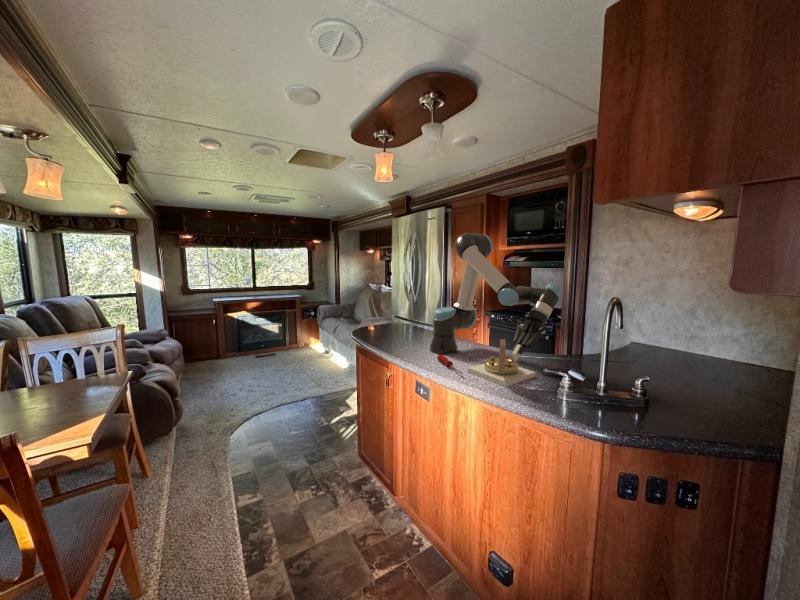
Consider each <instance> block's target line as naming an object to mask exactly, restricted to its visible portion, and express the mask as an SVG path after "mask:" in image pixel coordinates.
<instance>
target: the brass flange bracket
mask: <svg viewBox="0 0 800 600" xmlns="http://www.w3.org/2000/svg"><path fill="white" fill-rule="evenodd" d="M506 346H507V345H506V339H505V338H503V339H502V338H500V339H499V357H496V356H493V355H491V356H488V358H487V359H485V360H484V363H485V370H487V371H488V372H491V373H494V374H499V375H513V374H516V373H518V367H520V366H519V363H518V362H517V361H513V360H512V359H511V357H509V358H506Z"/></svg>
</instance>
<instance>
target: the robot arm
mask: <svg viewBox="0 0 800 600" xmlns="http://www.w3.org/2000/svg"><path fill="white" fill-rule="evenodd" d="M454 249H455V250H454V251H455V252H456V254H457V256H458V257H459V258H460V259H461V260H462V261H463V262H465V264H464V269H463V273H462V278H461V282H460V288H459V292H458V297H457V301H456V302H455V303H453V307H450V306H445V307H443V306H442V307H438V308H436V309H435V310H434V312H433V316H432V317H433V318H432V319H433V323H432V324H433V329H432V330H433V331H432V332H433V333H432V339H431V343H430V345H429V351H430V352H431V353H435V354H438V355H439V354H442V355H449V354H450V355H451V354H454V353H457V352H458V345H457V342H456V337H455V332H456V331H457V330H465V329H468V328H471V327H472V326H474V324H475V323H476V321H477V314H476V311H475V307H474V299H475V295H476V290H477V285H478V283H479V278H480V277H481V278H482V279H483V280H484V281H485V282H486V284H488V286H490V288H491V289H492V290H493V291H495V293H496V294H497V298H498V302H499V303H500V304H501V305H503V306H509V307H512V306H517V305H524V304H530V305H531V304H532V305H533V306H532V308H531V310H530V311H529V312H528V314H527V317H526V320H525V321H524V322H523V323H517V324H516V331H515V333H514V336H513V340H512V342H513V343H514V347H513V349H512V353H511V354H510V356H509V358H511V359H512V360H513V361H516V362H517V361H518V359H519V357H520V355H523V353H524V352H525V350H526V349H532V347H534V345H535V344H536V343H537V342H538V341H539V340H540V339H541V338H542V337H543V336H545V335H546V334H547V331H546V329H545V325H546V323H547V321H548V319H549V318H550V316H551V314H552V312H553V311H554V308H555V307H556V306H557V303H558V302H559V301H560V298H561V296H562V294H563V290H562V288H561V287H560V286H559V285H557V284H554V283H548V284H546V285H545V286H544V287H543V288H541V287H540V288H539V287H538V288H537V287H534V286H533V287H532V286H526V285H524V286H522V285H519V286H517V287H515V285H514V284H513V283H511V281H509V280H508V279H507V277H505V276H504V275H503V273H501V272H500V271H499V269H498V268H497V267H495V265H493V264H492V262H490V260H488V259H487V257H488V256H489V255H491V254H492V252H493V250H494V244H493V240H492V239H491V237H490V236H489V235H487V234H483V233H473V232H472V233H471V232H465V233H462V234H460V235H459V236H458V237H457V238H456V240H455V243H454Z"/></svg>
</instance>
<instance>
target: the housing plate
mask: <svg viewBox="0 0 800 600" xmlns="http://www.w3.org/2000/svg"><path fill="white" fill-rule="evenodd" d="M467 373H469V374H472V375H473V376H477V377H480V378H482V379H483V380H486V381H489V380H490V382H493V383H495V384H498V385H500V386H503V387H505V388H506V387H509V386H512V385H515V384H518V383H520V382H524V381H526V380H530V379H532V378H535V377H536V371H533V370H529V369H528V368H527V369H526V368H523V367H521V366H518V373H516V374H513V375H499V374H494V373H491V372H488V371H487V370H485V362H484V363H481V364H477V365H473V366H470V367H468V368H467Z"/></svg>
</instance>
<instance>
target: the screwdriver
mask: <svg viewBox="0 0 800 600" xmlns="http://www.w3.org/2000/svg"><path fill="white" fill-rule="evenodd" d="M436 357H437V358H436V359H437V360H438V362H440V363H441V364H443V365H446V367H447V368H448V369H451V368H452V369H454V370H455V371H456V372H458V374H460V375H464V373H462V372H461V371H459V370H458V368H456V367H455V366H453V365H454V364H453V361H450V360H449V359H448V357H446V356H445V355H444V354H439V353H438V355H437V356H436Z"/></svg>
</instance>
